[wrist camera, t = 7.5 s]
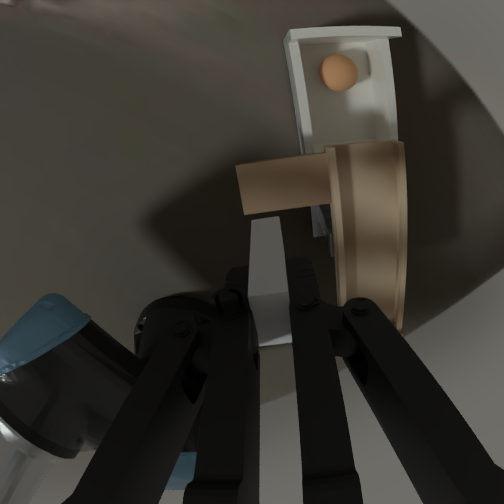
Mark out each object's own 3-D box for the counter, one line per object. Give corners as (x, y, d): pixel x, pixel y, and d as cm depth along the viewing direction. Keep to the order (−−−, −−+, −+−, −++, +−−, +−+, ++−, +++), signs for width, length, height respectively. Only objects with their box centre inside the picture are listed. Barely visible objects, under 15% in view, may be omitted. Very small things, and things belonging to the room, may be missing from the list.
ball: (320, 96, 27) (325, 87, 24) (313, 62, 27) (317, 49, 23) (356, 94, 27) (366, 84, 24) (349, 60, 26) (357, 47, 23)
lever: (388, 312, 32) (402, 340, 28) (269, 329, 34) (268, 360, 29) (385, 138, 25) (406, 142, 21) (238, 155, 27) (231, 162, 22)
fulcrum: (380, 225, 36) (403, 263, 29) (313, 234, 37) (323, 274, 30) (379, 176, 33) (406, 205, 26) (307, 184, 33) (319, 216, 27)
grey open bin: (300, 151, 32) (311, 175, 25) (283, 40, 26) (289, 29, 19) (381, 143, 31) (411, 165, 24) (369, 35, 25) (400, 27, 18)
